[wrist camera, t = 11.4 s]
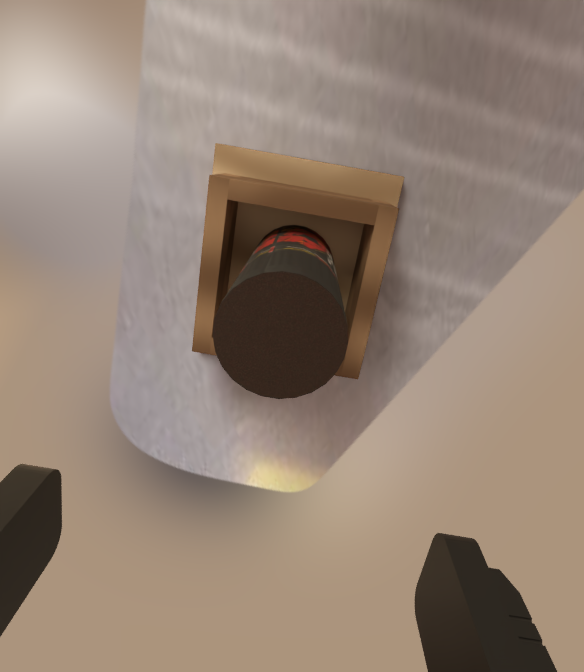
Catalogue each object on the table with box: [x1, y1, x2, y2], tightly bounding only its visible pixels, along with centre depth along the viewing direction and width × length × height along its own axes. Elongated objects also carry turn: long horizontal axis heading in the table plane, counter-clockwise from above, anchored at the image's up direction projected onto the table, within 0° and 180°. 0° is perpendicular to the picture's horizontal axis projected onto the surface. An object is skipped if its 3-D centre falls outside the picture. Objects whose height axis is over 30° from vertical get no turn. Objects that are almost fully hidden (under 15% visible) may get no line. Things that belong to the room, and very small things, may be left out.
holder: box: [192, 143, 404, 379], centre depth 33 cm, size 15×13×6 cm
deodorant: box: [213, 225, 349, 399], centre depth 28 cm, size 6×6×15 cm
